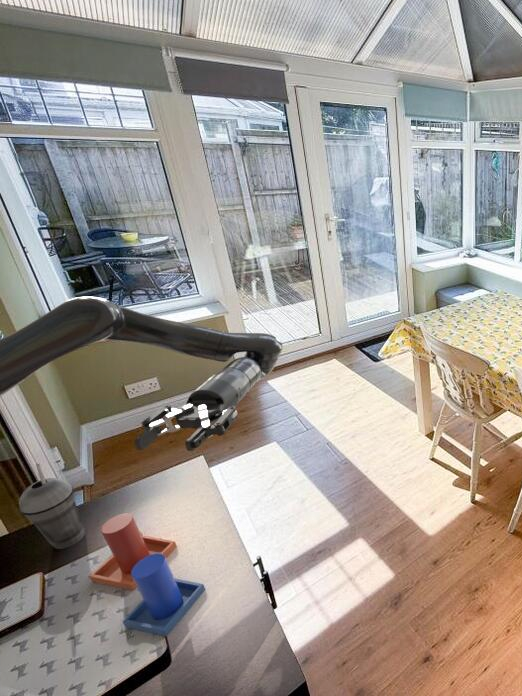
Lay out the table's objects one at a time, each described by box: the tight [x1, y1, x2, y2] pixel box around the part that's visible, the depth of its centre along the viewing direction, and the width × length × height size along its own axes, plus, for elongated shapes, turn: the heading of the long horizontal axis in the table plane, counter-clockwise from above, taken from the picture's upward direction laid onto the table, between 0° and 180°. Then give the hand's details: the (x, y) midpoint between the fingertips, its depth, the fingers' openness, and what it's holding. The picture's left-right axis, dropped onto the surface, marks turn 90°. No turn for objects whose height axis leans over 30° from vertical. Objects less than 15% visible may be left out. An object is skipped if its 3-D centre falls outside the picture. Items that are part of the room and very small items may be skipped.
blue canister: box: [131, 553, 183, 620], centre depth 71 cm, size 4×4×11 cm
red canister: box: [100, 512, 150, 574], centre depth 78 cm, size 4×4×11 cm
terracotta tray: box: [88, 534, 178, 591], centre depth 80 cm, size 9×9×2 cm
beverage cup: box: [18, 463, 86, 550], centre depth 80 cm, size 7×7×20 cm
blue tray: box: [122, 577, 206, 638], centre depth 73 cm, size 8×8×2 cm
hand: (163, 446), depth 71 cm, fingers open, 8 cm apart
